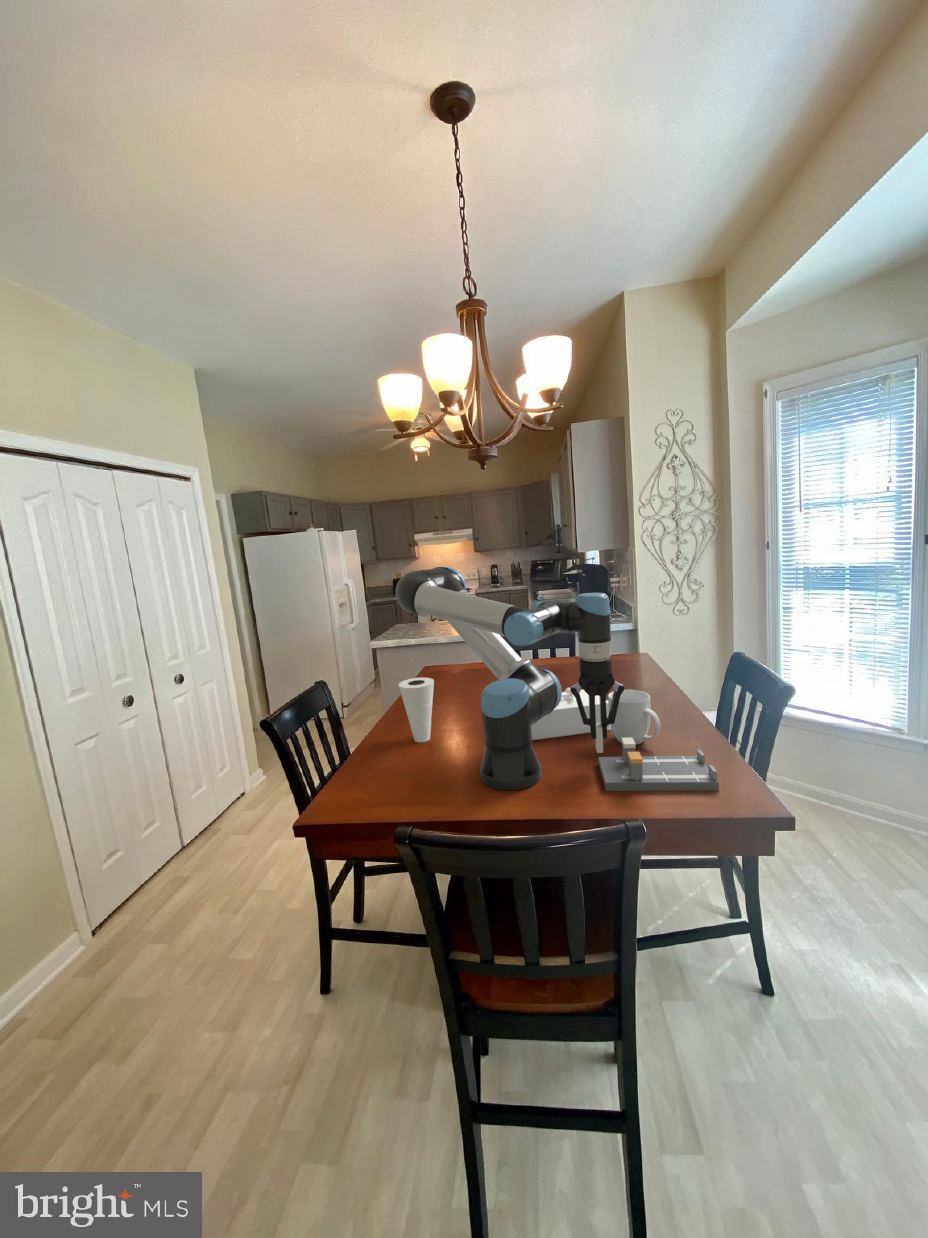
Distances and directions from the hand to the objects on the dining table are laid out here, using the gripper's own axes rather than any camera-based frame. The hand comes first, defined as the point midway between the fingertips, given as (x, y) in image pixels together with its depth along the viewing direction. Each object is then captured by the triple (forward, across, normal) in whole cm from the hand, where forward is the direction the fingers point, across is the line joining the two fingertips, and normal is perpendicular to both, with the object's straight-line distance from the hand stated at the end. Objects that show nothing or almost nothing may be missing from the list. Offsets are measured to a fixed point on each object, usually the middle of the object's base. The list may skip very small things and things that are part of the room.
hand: (599, 750), depth 118 cm
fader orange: (+3, +7, -8) cm, 11 cm away
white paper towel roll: (+5, -51, +20) cm, 55 cm away
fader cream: (+3, +7, 0) cm, 7 cm away
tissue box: (+5, -8, +28) cm, 30 cm away
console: (+5, +12, -4) cm, 14 cm away
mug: (+5, +11, +16) cm, 20 cm away
